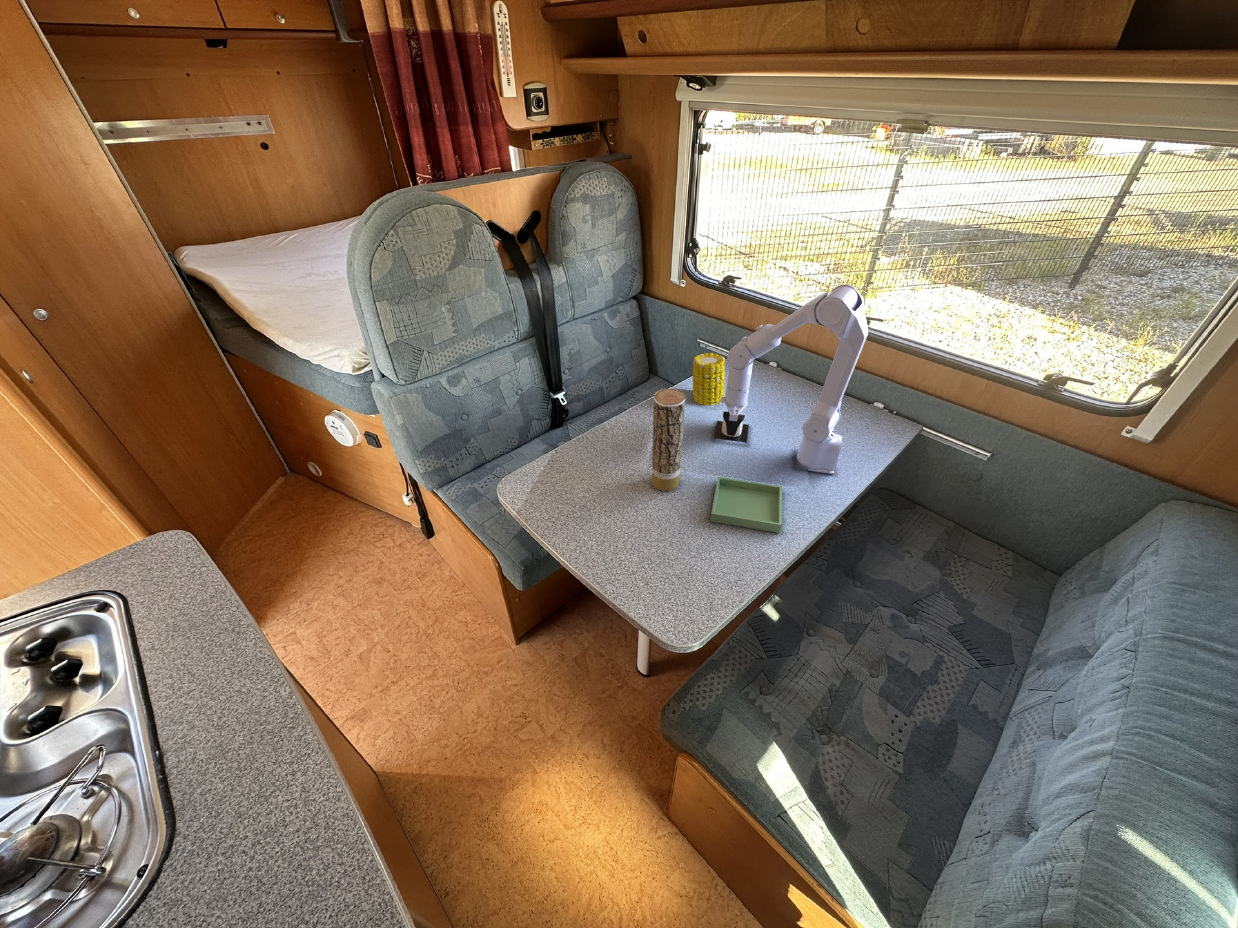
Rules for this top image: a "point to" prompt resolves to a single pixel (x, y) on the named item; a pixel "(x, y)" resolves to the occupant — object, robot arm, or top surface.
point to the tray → (747, 504)
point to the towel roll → (737, 429)
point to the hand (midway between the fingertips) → (731, 428)
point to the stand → (740, 438)
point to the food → (708, 378)
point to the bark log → (667, 438)
